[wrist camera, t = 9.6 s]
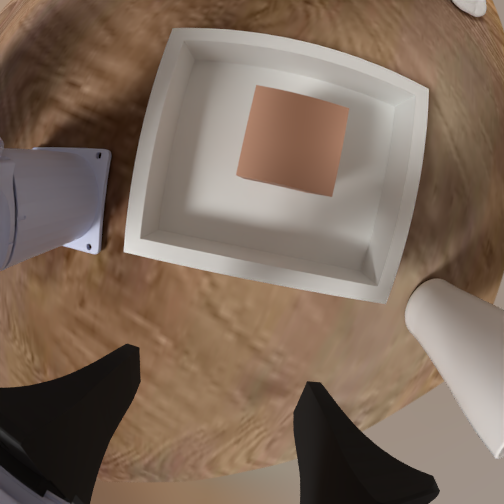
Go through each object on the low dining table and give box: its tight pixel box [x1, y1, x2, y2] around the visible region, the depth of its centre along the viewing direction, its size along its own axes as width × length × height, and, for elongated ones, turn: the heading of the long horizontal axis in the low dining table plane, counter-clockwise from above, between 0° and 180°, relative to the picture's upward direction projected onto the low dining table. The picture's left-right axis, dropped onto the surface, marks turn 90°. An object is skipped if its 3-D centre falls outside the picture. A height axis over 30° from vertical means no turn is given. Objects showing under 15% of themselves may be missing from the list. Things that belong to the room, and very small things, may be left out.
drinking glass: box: [405, 278, 504, 459], centre depth 12 cm, size 7×7×15 cm
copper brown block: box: [236, 85, 349, 197], centre depth 13 cm, size 4×4×6 cm
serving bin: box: [124, 28, 429, 304], centre depth 15 cm, size 16×14×4 cm
